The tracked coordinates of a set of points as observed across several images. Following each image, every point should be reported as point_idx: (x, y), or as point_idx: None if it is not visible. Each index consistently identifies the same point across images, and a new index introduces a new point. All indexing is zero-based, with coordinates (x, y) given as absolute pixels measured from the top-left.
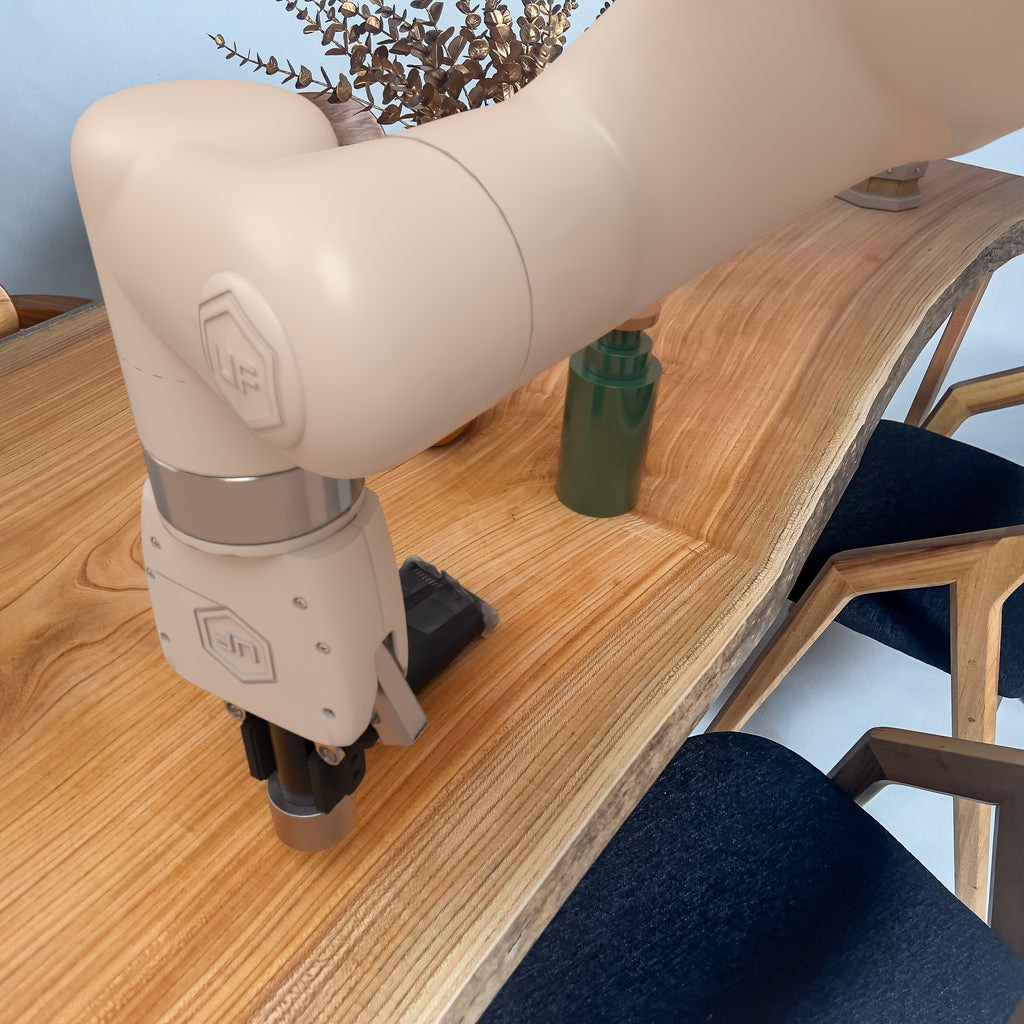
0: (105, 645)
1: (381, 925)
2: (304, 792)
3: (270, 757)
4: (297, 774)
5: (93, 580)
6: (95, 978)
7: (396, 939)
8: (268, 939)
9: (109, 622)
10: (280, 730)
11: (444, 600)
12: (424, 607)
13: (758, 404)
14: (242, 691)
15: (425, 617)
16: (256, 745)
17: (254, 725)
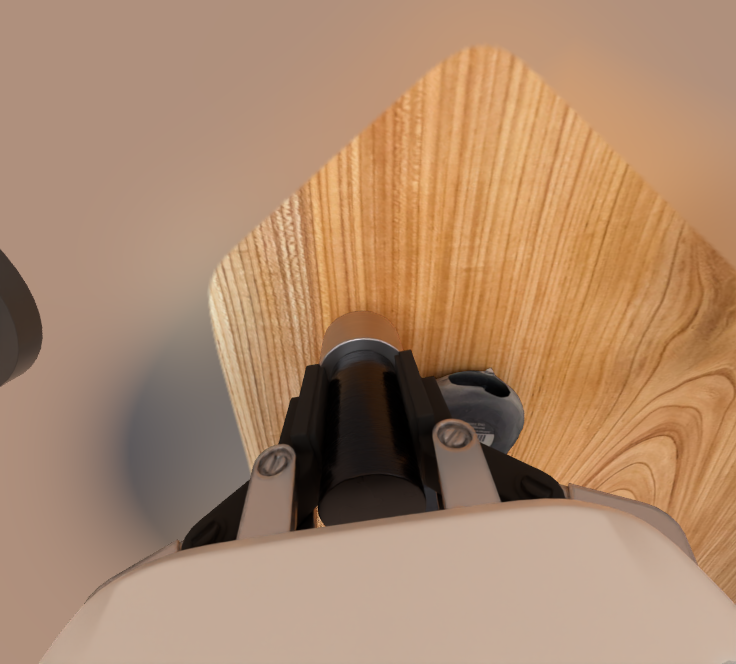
0: (661, 341)
1: (281, 305)
2: (341, 371)
3: (399, 382)
4: (343, 391)
5: (715, 376)
6: (437, 114)
7: (264, 304)
8: (340, 243)
9: (672, 357)
10: (357, 456)
11: (425, 511)
12: (433, 501)
13: None
14: (368, 628)
15: (427, 496)
16: (405, 396)
17: (417, 425)
